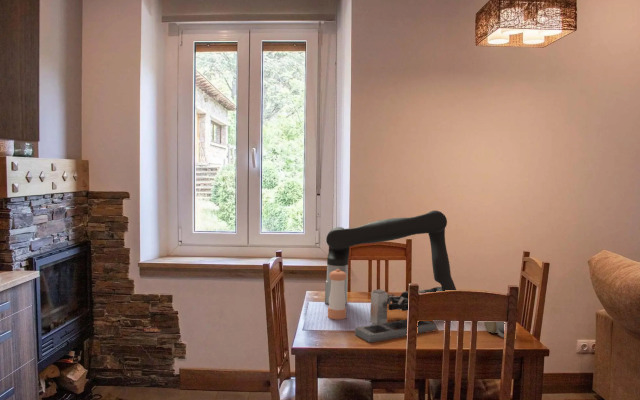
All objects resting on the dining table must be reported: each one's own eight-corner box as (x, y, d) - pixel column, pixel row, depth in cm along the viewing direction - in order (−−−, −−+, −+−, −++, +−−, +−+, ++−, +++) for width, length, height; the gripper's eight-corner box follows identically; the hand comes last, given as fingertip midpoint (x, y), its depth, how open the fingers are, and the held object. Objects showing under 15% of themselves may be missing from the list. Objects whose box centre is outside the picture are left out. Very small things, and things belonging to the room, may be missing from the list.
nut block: (377, 325, 181) (378, 292, 181) (370, 322, 185) (371, 289, 185) (386, 323, 184) (387, 291, 183) (379, 320, 187) (380, 288, 187)
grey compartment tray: (369, 342, 162) (370, 335, 162) (355, 334, 170) (355, 327, 170) (436, 330, 177) (436, 323, 177) (420, 323, 185) (420, 317, 185)
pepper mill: (324, 317, 189) (325, 269, 188) (332, 313, 196) (333, 266, 195) (341, 320, 186) (342, 271, 185) (348, 315, 192) (350, 268, 191)
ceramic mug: (481, 330, 179) (483, 310, 178) (500, 328, 181) (501, 308, 181) (500, 340, 169) (502, 319, 168) (519, 338, 171) (521, 317, 171)
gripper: (403, 286, 199) (371, 290, 191) (427, 294, 186) (394, 299, 178) (402, 304, 199) (371, 309, 191) (426, 313, 187) (393, 319, 179)
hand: (382, 304), depth 185 cm, fingers open, 8 cm apart
